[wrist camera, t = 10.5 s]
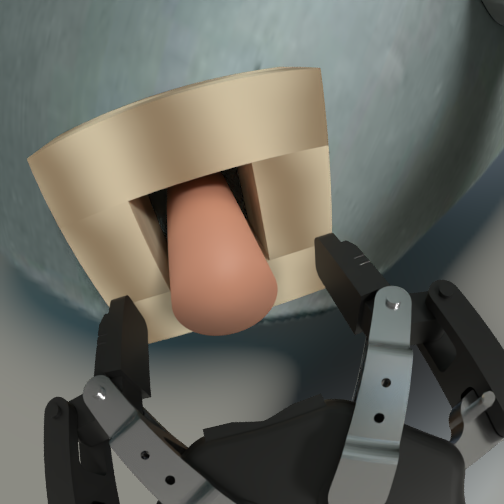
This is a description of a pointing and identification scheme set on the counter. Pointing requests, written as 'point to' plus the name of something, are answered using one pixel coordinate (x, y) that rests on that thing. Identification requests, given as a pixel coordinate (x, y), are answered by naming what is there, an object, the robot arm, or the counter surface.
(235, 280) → the peg
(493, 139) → the counter surface
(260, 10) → the counter surface
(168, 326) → the socket block
